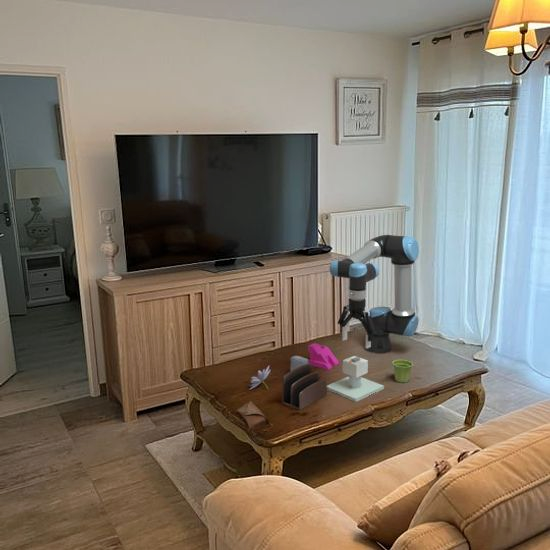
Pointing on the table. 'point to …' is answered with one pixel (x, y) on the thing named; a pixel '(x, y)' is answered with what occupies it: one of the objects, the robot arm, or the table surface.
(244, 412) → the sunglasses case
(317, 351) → the bracket
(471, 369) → the table surface
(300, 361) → the medicine box
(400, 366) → the plant pot
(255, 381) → the water lily
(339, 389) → the shaft stand
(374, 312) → the robot arm
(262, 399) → the table surface
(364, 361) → the slotted block
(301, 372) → the letter holder
